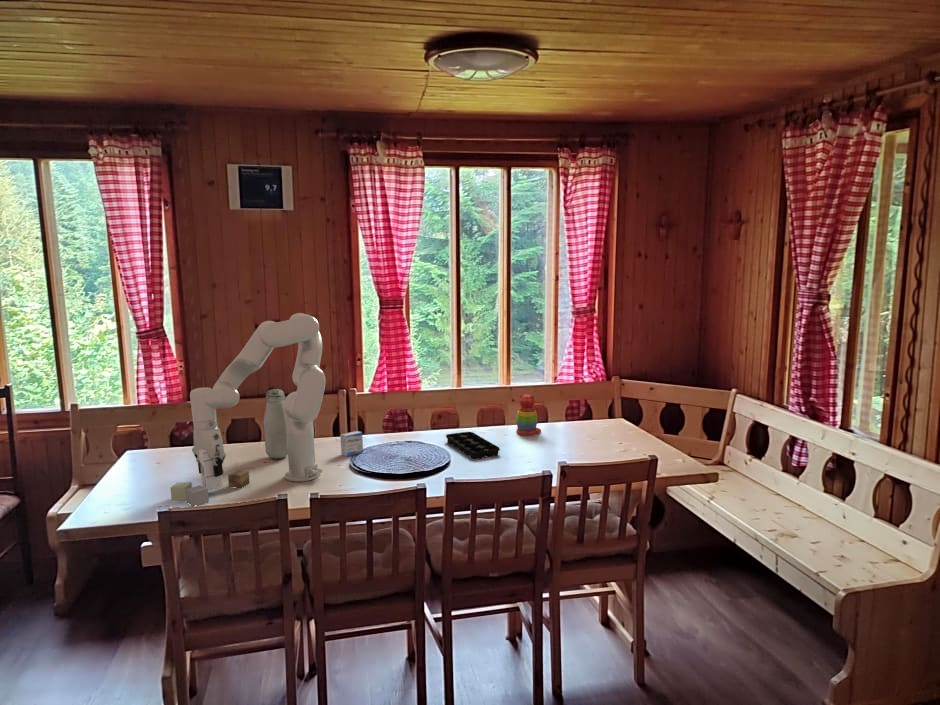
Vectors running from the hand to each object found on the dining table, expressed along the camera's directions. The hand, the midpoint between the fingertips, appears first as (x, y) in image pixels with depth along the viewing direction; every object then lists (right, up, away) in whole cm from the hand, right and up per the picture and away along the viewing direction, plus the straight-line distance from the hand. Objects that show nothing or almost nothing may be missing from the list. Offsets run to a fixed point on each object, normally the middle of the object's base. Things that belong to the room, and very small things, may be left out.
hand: (211, 473), depth 229 cm
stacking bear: (+115, +5, +69) cm, 134 cm away
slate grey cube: (-1, -8, -8) cm, 12 cm away
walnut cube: (+7, -6, +8) cm, 12 cm away
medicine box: (+41, 0, +43) cm, 59 cm away
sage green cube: (-8, -8, -4) cm, 12 cm away
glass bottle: (+12, -1, +39) cm, 41 cm away
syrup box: (0, -5, +1) cm, 5 cm away
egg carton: (+90, +1, +47) cm, 101 cm away
